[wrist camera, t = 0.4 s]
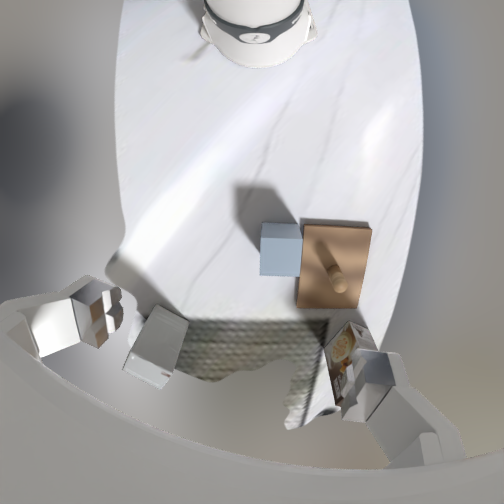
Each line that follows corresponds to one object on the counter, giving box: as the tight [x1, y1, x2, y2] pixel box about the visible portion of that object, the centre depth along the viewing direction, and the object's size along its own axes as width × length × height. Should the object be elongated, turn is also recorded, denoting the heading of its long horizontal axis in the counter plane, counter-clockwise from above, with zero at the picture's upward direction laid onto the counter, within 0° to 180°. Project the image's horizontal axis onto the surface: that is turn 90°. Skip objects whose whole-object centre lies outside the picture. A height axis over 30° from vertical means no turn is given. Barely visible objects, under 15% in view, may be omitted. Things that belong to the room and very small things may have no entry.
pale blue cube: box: [260, 222, 303, 277], centre depth 44 cm, size 6×6×8 cm
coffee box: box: [324, 321, 378, 407], centre depth 47 cm, size 9×6×16 cm
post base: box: [296, 224, 372, 308], centre depth 45 cm, size 16×12×7 cm
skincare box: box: [122, 304, 189, 390], centre depth 48 cm, size 8×7×16 cm
